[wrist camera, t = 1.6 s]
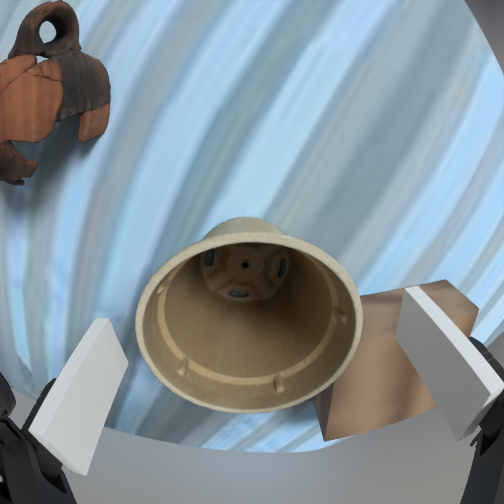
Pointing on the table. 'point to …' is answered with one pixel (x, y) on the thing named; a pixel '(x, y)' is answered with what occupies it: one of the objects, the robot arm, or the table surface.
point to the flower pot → (249, 320)
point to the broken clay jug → (48, 88)
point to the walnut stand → (385, 367)
